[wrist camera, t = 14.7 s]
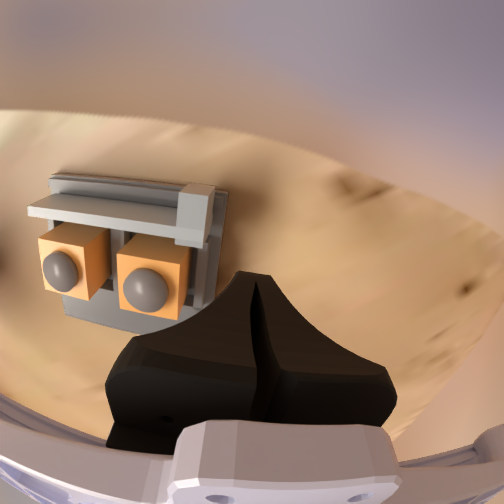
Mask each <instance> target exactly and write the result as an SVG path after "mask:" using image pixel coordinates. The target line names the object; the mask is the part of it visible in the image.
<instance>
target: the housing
mask: <svg viewBox="0 0 504 504" xmlns="http://www.w3.org/2000/svg"><path fill="white" fill-rule="evenodd" d="M186 186H187V185H179V184H171V183H163V182H154V181H145V180H136V179H126V178H116V177H105V176H93V175H80V174H66V173H55V174H52V175H51V178H50V179H48V187H51V195H52V194H55V193H57V194H67V195H76V196H85V197H94V198H103V199H111V200H119V201H127V202H135V203H143V204H151V205H158V206H166V207H173V208H178V197H179V192H180V191H181V190H182V189H183V188H185V187H186ZM228 193H229V191H223V190H216V189H215V195H214V202H213V210H212V213H213V219H212V224H211V227H210V233H209V235H208V237H207V239H206V242H205V244H204V246H203V248H202V249H201V248H195V247H193V250H192V262H191V275H190V288H189V291H188V294H187V297H186V299H185V302H184V304H183V307H182V309H181V312H180V315H179V317H178V320H173V319H167V318H162V317H157V316H152V315H148V314H143V313H138V312H133V311H129V310H124V309H120V304H119V291H118V274H117V253H118V252H119V251H120V250H121V249H122V248H123V247H124V246H125V245H126V244H127V243H128V242H129V241H130V240H131V239H132V238H133V237H134V236H135V235H136V234H137V233H136V232H130V231H124V230H117V229H111V228H110V252H111V273H112V275H111V276H110V277H109V278H108V279H107V280H106V281H105V283H104V284H103V285H102V286H101V287H100V288H99V290H98V291H97V292H96V293H95V294H94V296H93V297H92V298H91V299H90V300H89V301H87V300H83V299H79V298H75V297H72V296H68V295H64V294H61V296H62V301H63V307H64V312H65V315H67V316H71V317H74V318H78V319H81V320H85V321H88V322H92V323H96V324H99V325H103V326H107V327H111V328H115V329H119V330H123V331H127V332H132V333H136V334H140V335H144V334H148V333H152V332H156V331H159V330H163V329H165V328H168V327H171V326H173V325H176V324H178V323H180V322H182V321H184V320H186V319H188V318H190V317H192V316H193V315H195V314H197V313H198V312H199V311H201V310H202V309H204V308H205V307H206V306H207V305H209V304H210V303H211V302H212V301H213V300H214V299H215V291H216V282H217V274H218V266H219V258H220V251H221V243H222V236H223V228H224V221H225V214H226V207H227V200H228ZM63 222H65V221H59V220H52V219H48V231H50V230H52V229H53V228H55V227H57V226H58V225H60V224H62V223H63Z"/></svg>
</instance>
